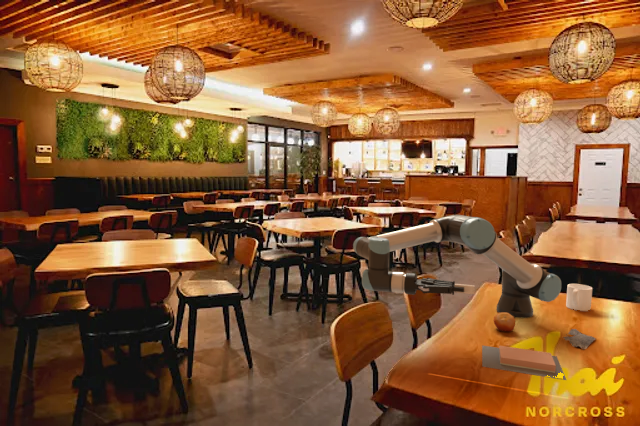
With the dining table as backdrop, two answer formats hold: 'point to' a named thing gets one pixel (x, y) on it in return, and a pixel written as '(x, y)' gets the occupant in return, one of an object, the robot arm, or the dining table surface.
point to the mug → (579, 297)
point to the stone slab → (579, 339)
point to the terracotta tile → (526, 359)
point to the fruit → (504, 322)
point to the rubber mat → (493, 361)
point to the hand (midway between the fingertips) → (474, 289)
